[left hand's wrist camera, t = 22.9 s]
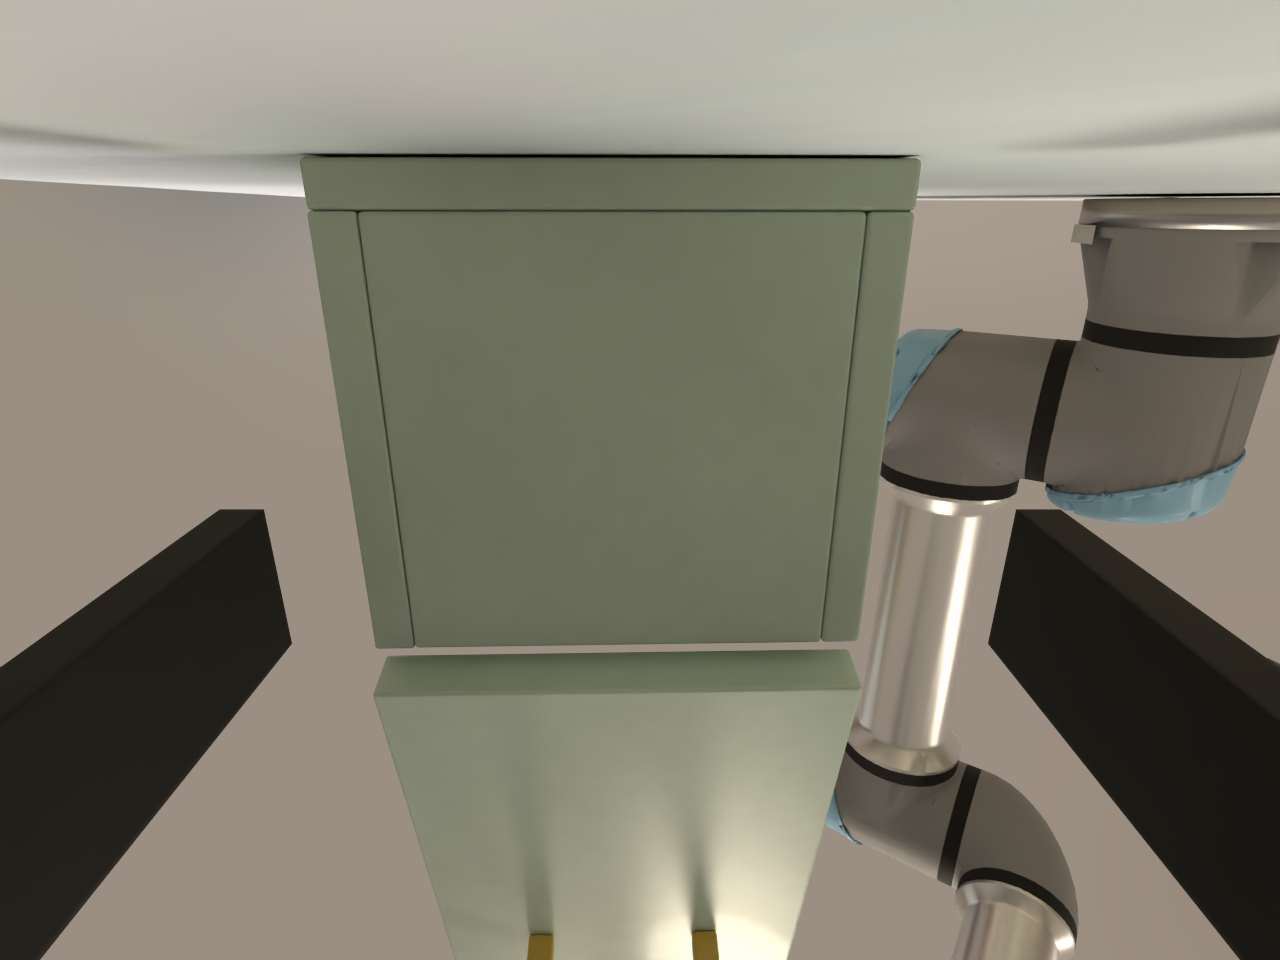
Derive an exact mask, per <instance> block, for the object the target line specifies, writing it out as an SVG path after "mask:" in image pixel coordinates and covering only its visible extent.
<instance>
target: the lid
mask: <svg viewBox="0 0 1280 960" xmlns="http://www.w3.org/2000/svg"><path fill="white" fill-rule="evenodd" d="M861 689H862V686H861V683H860V680H859V678H858V675H857V672H856V669H855V666H854V663H853V661H852V658H851V655H850V652H849V651H848V650H846V649H837V650H767V651H696V652H628V653H627V652H626V653H557V654H489V655H488V654H487V655H417V656H388V657H387V658H386V660H385V663H384V666H383V669H382V672H381V675H380V677H379V680H378V683H377V686H376V688H375V691H374V694H373V695H374V699H375V703H376V706H377V709H378V712H379V716H380V719H381V722H382V725H383V729H384V732H385V735H386V738H387V741H388V745H389V748H390V751H391V754H392V758H393V761H394V764H395V767H396V770H397V774H398V777H399V780H400V783H401V787H402V790H403V793H404V796H405V800H406V803H407V806H408V809H409V812H410V816H411V819H412V822H413V825H414V828H415V832H416V835H417V838H418V842H419V845H420V848H421V851H422V854H423V858H424V861H425V864H426V867H427V870H428V874H429V877H430V880H431V883H432V887H433V890H434V893H435V896H436V899H437V903H438V906H439V909H440V912H441V916H442V919H443V922H444V925H445V929H446V932H447V935H448V938H449V942H450V945H451V948H452V951H453V954H454V958H455V960H788V957H789V953H790V949H791V946H792V942H793V938H794V935H795V931H796V927H797V924H798V920H799V916H800V912H801V909H802V905H803V902H804V898H805V894H806V891H807V887H808V883H809V880H810V876H811V872H812V869H813V865H814V861H815V858H816V854H817V850H818V847H819V843H820V839H821V836H822V832H823V828H824V825H825V821H826V818H827V814H828V810H829V807H830V803H831V799H832V796H833V792H834V788H835V785H836V781H837V777H838V774H839V770H840V766H841V763H842V759H843V755H844V752H845V748H846V744H847V741H848V737H849V733H850V730H851V726H852V722H853V719H854V715H855V711H856V708H857V704H858V700H859V697H860V693H861Z"/></svg>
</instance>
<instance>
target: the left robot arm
mask: <svg viewBox="0 0 1280 960" xmlns="http://www.w3.org/2000/svg"><path fill="white" fill-rule="evenodd" d="M291 644H292V642H291V637H290V632H289V628H288V623H287V618H286V613H285V609H284V604H283V599H282V594H281V589H280V585H279V580H278V575H277V570H276V566H275V561H274V556H273V551H272V547H271V542H270V537H269V532H268V528H267V523H266V518H265V513H264V510H219V511H217V512H216V513H214V514H213V515H211V516H210V517H209V518H207V519H206V520H205V521H203V522H202V523H200V524H199V525H198V526H196V527H195V528H193V529H192V530H191V531H189V532H188V533H186V534H185V535H184V536H182V537H181V538H180V539H178V540H177V541H175V542H174V543H173V544H171V545H170V546H169V547H167V548H166V549H164V550H163V551H161V552H160V553H159V554H157V555H156V556H155V557H153V558H152V559H150V560H149V561H148V562H146V563H145V564H143V565H142V566H141V567H139V568H138V569H137V570H135V571H134V572H132V573H131V574H130V575H128V576H127V577H125V578H124V579H123V580H121V581H120V582H118V583H117V584H116V585H114V586H113V587H112V588H110V589H109V590H107V591H106V592H105V593H103V594H102V595H100V596H99V597H98V598H96V599H95V600H93V601H92V602H91V603H89V604H88V605H87V606H85V607H84V608H82V609H81V610H80V611H78V612H77V613H75V614H74V615H73V616H71V617H70V618H68V619H67V620H66V621H64V622H63V623H62V624H60V625H59V626H57V627H56V628H55V629H53V630H52V631H50V632H49V633H48V634H46V635H45V636H43V637H42V638H41V639H39V640H38V641H37V642H35V643H34V644H32V645H31V646H30V647H28V648H27V649H25V650H24V651H23V652H21V653H20V654H18V655H17V656H16V657H14V658H13V659H12V660H10V661H9V662H7V663H6V664H5V665H3V666H1V667H0V960H40V959H41V958H42V957H43V955H44V954H45V953H46V952H47V950H48V949H49V948H50V947H51V945H52V944H53V943H54V941H55V940H56V939H57V938H58V937H59V935H60V934H61V933H62V931H63V930H64V929H65V928H66V926H67V925H68V924H69V923H70V921H71V920H72V919H73V918H74V916H75V915H76V914H77V913H78V911H79V910H80V909H81V908H82V906H83V905H84V904H85V903H86V901H87V900H88V899H89V898H90V896H91V895H92V894H93V893H94V891H95V890H96V889H97V888H98V886H99V885H100V884H101V883H102V881H103V880H104V879H105V878H106V876H107V875H108V874H109V873H110V871H111V870H112V869H113V868H114V866H115V865H116V864H117V862H118V861H119V860H120V859H121V857H122V856H123V855H124V854H125V852H126V851H127V850H128V849H129V847H130V846H131V845H132V844H133V842H134V841H135V840H136V839H137V837H138V836H139V835H140V834H141V832H142V831H143V830H144V829H145V827H146V826H147V825H148V824H149V822H150V821H151V820H152V819H153V817H154V816H155V815H156V814H157V812H158V811H159V810H160V809H161V807H162V806H163V805H164V803H165V802H166V801H167V800H168V798H169V797H170V796H171V795H172V793H173V792H174V791H175V790H176V788H177V787H178V786H179V785H180V783H181V782H182V781H183V780H184V778H185V777H186V776H187V775H188V773H189V772H190V771H191V770H192V768H193V767H194V766H195V765H196V763H197V762H198V761H199V760H200V758H201V757H202V756H203V755H204V753H205V752H206V751H207V750H208V748H209V747H210V746H211V745H212V743H213V742H214V741H215V739H216V738H217V737H218V736H219V734H220V733H221V732H222V731H223V729H224V728H225V727H226V726H227V724H228V723H229V722H230V721H231V719H232V718H233V717H234V716H235V714H236V713H237V712H238V711H239V709H240V708H241V707H242V706H243V704H244V703H245V702H246V701H247V699H248V698H249V697H250V696H251V694H252V693H253V692H254V690H255V689H256V688H257V687H258V685H259V684H260V683H261V682H262V681H263V679H264V678H265V677H266V676H267V674H268V673H269V672H270V670H271V669H272V668H273V667H274V665H275V664H276V663H277V662H278V660H279V659H280V658H281V657H282V655H283V654H284V653H285V652H286V650H287V649H288V648H289V647H290V645H291ZM988 644H989V645H990V647H991V648H992V649H993V650H994V652H995V653H996V654H997V655H998V657H999V658H1000V659H1001V660H1002V662H1003V663H1004V664H1005V665H1006V667H1007V668H1008V669H1009V671H1010V672H1011V673H1012V674H1013V675H1014V677H1015V678H1016V679H1017V681H1018V682H1019V683H1020V684H1021V686H1022V687H1023V688H1024V689H1025V691H1026V692H1027V693H1028V694H1029V696H1030V697H1031V698H1032V699H1033V701H1034V702H1035V703H1036V704H1037V706H1038V707H1039V708H1040V709H1041V711H1042V712H1043V713H1044V714H1045V716H1046V717H1047V718H1048V719H1049V721H1050V722H1051V723H1052V724H1053V726H1054V727H1055V728H1056V729H1057V731H1058V732H1059V733H1060V734H1061V736H1062V737H1063V738H1064V740H1065V741H1066V742H1067V743H1068V745H1069V746H1070V747H1071V748H1072V750H1073V751H1074V752H1075V753H1076V755H1077V756H1078V757H1079V758H1080V760H1081V761H1082V762H1083V763H1084V765H1085V766H1086V767H1087V768H1088V770H1089V771H1090V772H1091V773H1092V775H1093V776H1094V777H1095V778H1096V780H1097V781H1098V782H1099V783H1100V785H1101V786H1102V787H1103V788H1104V790H1105V791H1106V792H1107V793H1108V795H1109V796H1110V797H1111V798H1112V800H1113V801H1114V802H1115V804H1116V805H1117V806H1118V807H1119V808H1120V810H1121V811H1122V812H1123V814H1124V815H1125V816H1126V817H1127V819H1128V820H1129V821H1130V822H1131V824H1132V825H1133V826H1134V827H1135V829H1136V830H1137V831H1138V832H1139V834H1140V835H1141V836H1142V837H1143V839H1144V840H1145V841H1146V842H1147V844H1148V845H1149V846H1150V847H1151V849H1152V850H1153V851H1154V852H1155V854H1156V855H1157V856H1158V857H1159V859H1160V860H1161V861H1162V862H1163V864H1164V865H1165V866H1166V867H1167V869H1168V870H1169V871H1170V873H1171V874H1172V875H1173V876H1174V878H1175V879H1176V880H1177V881H1178V882H1179V884H1180V885H1181V886H1182V888H1183V889H1184V890H1185V891H1186V893H1187V894H1188V895H1189V896H1190V898H1191V899H1192V900H1193V901H1194V903H1195V904H1196V905H1197V906H1198V908H1199V909H1200V910H1201V911H1202V913H1203V914H1204V915H1205V916H1206V918H1207V919H1208V920H1209V921H1210V923H1211V924H1212V925H1213V926H1214V928H1215V929H1216V930H1217V931H1218V933H1219V934H1220V935H1221V937H1222V938H1223V939H1224V940H1225V942H1226V943H1227V944H1228V945H1229V947H1230V948H1231V949H1232V950H1233V952H1234V953H1235V954H1236V955H1237V957H1238V958H1239V959H1240V960H1280V664H1279V663H1277V662H1275V661H1273V660H1271V659H1268V658H1266V657H1264V656H1263V655H1262V654H1260V653H1259V652H1257V651H1256V650H1255V649H1253V648H1252V647H1250V646H1249V645H1248V644H1246V643H1245V642H1243V641H1242V640H1241V639H1239V638H1238V637H1237V636H1235V635H1234V634H1232V633H1231V632H1230V631H1228V630H1227V629H1225V628H1224V627H1223V626H1221V625H1220V624H1218V623H1217V622H1216V621H1214V620H1213V619H1212V618H1210V617H1209V616H1207V615H1206V614H1205V613H1203V612H1202V611H1200V610H1199V609H1198V608H1196V607H1195V606H1193V605H1192V604H1191V603H1189V602H1188V601H1187V600H1185V599H1184V598H1182V597H1181V596H1180V595H1178V594H1177V593H1175V592H1174V591H1173V590H1171V589H1170V588H1168V587H1167V586H1166V585H1164V584H1163V583H1161V582H1160V581H1159V580H1157V579H1156V578H1155V577H1153V576H1152V575H1150V574H1149V573H1148V572H1146V571H1145V570H1143V569H1142V568H1141V567H1139V566H1138V565H1137V564H1135V563H1134V562H1132V561H1131V560H1130V559H1128V558H1127V557H1125V556H1124V555H1123V554H1121V553H1120V552H1118V551H1117V550H1116V549H1114V548H1113V547H1111V546H1110V545H1109V544H1107V543H1106V542H1105V541H1103V540H1102V539H1100V538H1099V537H1098V536H1096V535H1095V534H1094V533H1092V532H1091V531H1089V530H1088V529H1087V528H1085V527H1084V526H1082V525H1081V524H1080V523H1078V522H1077V521H1075V520H1074V519H1073V518H1071V517H1070V516H1069V515H1067V514H1066V513H1064V512H1063V511H1062V510H1016V513H1015V518H1014V523H1013V528H1012V532H1011V537H1010V542H1009V547H1008V552H1007V556H1006V561H1005V566H1004V570H1003V575H1002V580H1001V585H1000V590H999V595H998V599H997V604H996V609H995V613H994V618H993V623H992V628H991V632H990V637H989V642H988Z"/></svg>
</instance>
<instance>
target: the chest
mask: <svg viewBox="0 0 1280 960" xmlns="http://www.w3.org/2000/svg"><path fill="white" fill-rule="evenodd" d="M300 165H301V172H302V178H303V184H304V191H305V197H306V203H307V206H308V208H309V209H311V210H313V211H309V212H308V221H309V227H310V233H311V240H312V246H313V252H314V258H315V265H316V271H317V278H318V284H319V290H320V296H321V303H322V309H323V316H324V322H325V328H326V335H327V341H328V347H329V353H330V360H331V366H332V373H333V379H334V385H335V392H336V398H337V404H338V411H339V417H340V423H341V429H342V436H343V442H344V448H345V455H346V461H347V468H348V474H349V480H350V487H351V493H352V499H353V506H354V512H355V518H356V525H357V531H358V537H359V543H360V550H361V556H362V563H363V569H364V575H365V582H366V588H367V594H368V600H369V607H370V613H371V620H372V626H373V632H374V638H375V645H376V648H379V649H382V648H413V647H414V646H415V644H416V646H417V647H482V646H553V645H622V644H623V645H624V644H693V643H765V642H766V643H767V642H817V641H819V640H820V638H821V639H822V640H823V641H826V642H834V641H857V640H858V638H859V631H860V623H861V615H862V608H863V600H864V593H865V585H866V577H867V570H868V562H869V555H870V547H871V539H872V532H873V524H874V517H875V509H876V501H877V494H878V486H879V479H880V471H881V463H882V456H883V448H884V441H885V433H886V425H887V418H888V410H889V403H890V395H891V387H892V380H893V372H894V365H895V357H896V349H897V342H898V334H899V326H900V319H901V311H902V304H903V296H904V289H905V281H906V273H907V266H908V258H909V251H910V243H911V235H912V228H913V220H914V215H913V213H912V212H910V211H911V210H913V209H914V207H915V205H916V198H917V190H918V183H919V175H920V167H921V163H920V160H918V159H916V158H553V157H304V158H302V159H301V161H300Z"/></svg>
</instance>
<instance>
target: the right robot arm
mask: <svg viewBox="0 0 1280 960" xmlns="http://www.w3.org/2000/svg"><path fill="white" fill-rule="evenodd" d="M1071 242H1075V243H1081V250H1082V258H1083V266H1084V273H1085V281H1086V288H1087V296H1088V310H1087V315H1086V320H1085V324H1084V329H1083V333H1082V337H1081V340H1080V341H1071V340H1059V339H1047V338H1036V337H1025V336H1014V335H1003V334H992V333H981V332H969V331H963V329H960V328H956V329H953V330H937V329H916V330H912V331H910V332H908V333H906V334H904V335H903V336H902V337H900V338H899V339H898V342H897V349H896V357H895V365H894V372H893V380H892V387H891V395H890V403H889V410H888V418H887V425H886V433H885V441H884V448H883V456H882V463H881V471H880V479H881V480H882V481H883V483H884V484H885V485H886V486H887V487H888V489H889V490H890V491H891V493H892V501H891V507H890V513H889V520H888V526H887V533H886V539H885V546H884V552H883V558H882V565H881V572H880V578H879V584H878V591H877V597H876V603H875V610H874V616H873V622H872V629H871V635H870V642H869V648H868V655H867V661H866V667H865V674H864V680H863V687H862V693H861V699H860V702H858V704H857V708H856V711H855V715H854V719H853V722H852V726H851V730H850V733H849V737H848V741H847V744H846V748H845V752H844V755H843V759H842V763H841V766H840V770H839V774H838V777H837V781H836V785H835V788H834V792H833V796H832V799H831V803H830V807H829V810H828V814H827V818H826V821H825V824H826V825H827V826H828V827H830V828H831V829H833V830H835V831H837V832H839V833H841V834H842V835H844V836H846V837H847V838H848V839H849V840H850V841H852V842H854V843H856V844H860V845H862V844H865V845H867V846H869V847H871V848H873V849H875V850H877V851H879V852H881V853H883V854H885V855H887V856H889V857H891V858H894V859H896V860H898V861H900V862H902V863H904V864H906V865H908V866H910V867H912V868H914V869H916V870H918V871H920V872H922V873H924V874H926V875H928V876H930V877H932V878H934V879H936V880H939V881H941V882H943V883H945V884H947V885H949V886H952V887H953V888H955V889H957V890H956V894H955V898H954V905H955V910H956V912H957V915H958V917H959V918H960V920H961V925H960V929H959V932H958V936H957V940H956V944H955V948H954V951H953V955H952V959H951V960H1071V959H1072V958H1073V956H1074V952H1075V946H1076V938H1077V929H1078V907H1077V900H1076V894H1075V888H1074V884H1073V881H1072V878H1071V874H1070V871H1069V867H1068V864H1067V862H1066V860H1065V857H1064V855H1063V853H1062V850H1061V848H1060V846H1059V844H1058V842H1057V840H1056V838H1055V836H1054V834H1053V832H1052V831H1051V829H1050V828H1049V826H1048V824H1047V823H1046V821H1045V820H1044V819H1043V817H1042V816H1041V814H1040V813H1039V812H1038V811H1037V810H1036V808H1035V807H1034V806H1033V805H1032V804H1031V803H1030V801H1029V800H1028V799H1027V798H1026V797H1025V796H1024V795H1023V794H1022V793H1020V792H1019V791H1018V790H1017V789H1016V788H1014V787H1013V786H1012V785H1011V784H1009V783H1008V782H1006V781H1004V780H1003V779H1001V778H999V777H998V776H996V775H993V774H991V773H989V772H987V771H984V770H981V769H979V768H976V767H973V766H971V765H968V764H966V763H963V762H961V761H959V758H960V753H961V747H960V743H959V740H958V738H957V736H956V735H955V733H954V732H953V730H952V729H951V728H950V727H949V721H950V716H951V712H952V706H953V702H954V697H955V692H956V687H957V682H958V677H959V672H960V668H961V663H962V658H963V653H964V648H965V643H966V638H967V633H968V628H969V624H970V619H971V614H972V609H973V604H974V599H975V594H976V589H977V585H978V580H979V575H980V570H981V565H982V560H983V555H984V550H985V546H986V541H987V536H988V531H989V526H990V521H991V516H992V512H993V511H994V510H995V509H996V508H997V507H999V506H1001V505H1003V504H1004V503H1006V502H1008V501H1010V500H1012V499H1013V498H1014V497H1015V495H1016V492H1017V487H1018V483H1019V478H1020V479H1029V480H1035V481H1040V482H1045V483H1046V486H1045V490H1046V492H1047V496H1048V498H1049V500H1050V501H1051V502H1052V503H1053V504H1054V505H1056V506H1058V507H1059V508H1061V509H1063V510H1069V511H1074V513H1075V514H1077V515H1080V516H1084V517H1089V518H1093V519H1098V520H1105V521H1113V522H1124V523H1142V524H1144V523H1145V524H1146V523H1169V522H1177V521H1181V520H1185V519H1191V518H1195V517H1198V516H1201V515H1203V514H1206V513H1208V512H1209V511H1211V510H1213V509H1214V508H1216V507H1217V506H1218V505H1219V504H1220V503H1221V502H1222V501H1223V499H1224V498H1225V496H1226V494H1227V492H1228V489H1229V487H1230V485H1231V482H1232V480H1233V477H1234V475H1235V472H1236V470H1237V468H1238V465H1240V463H1241V462H1242V461H1243V460H1244V458H1245V453H1246V451H1245V449H1244V446H1245V443H1246V440H1247V437H1248V433H1249V430H1250V427H1251V424H1252V421H1253V418H1254V415H1255V412H1256V409H1257V406H1258V402H1259V399H1260V396H1261V393H1262V390H1263V387H1264V383H1265V381H1266V378H1267V375H1268V372H1269V369H1270V366H1271V363H1272V360H1273V357H1274V354H1275V351H1276V347H1277V344H1278V341H1279V338H1280V198H1121V199H1085V200H1083V204H1082V209H1081V214H1080V219H1079V223H1078V224H1075V225H1074V229H1073V234H1072V238H1071Z"/></svg>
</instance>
